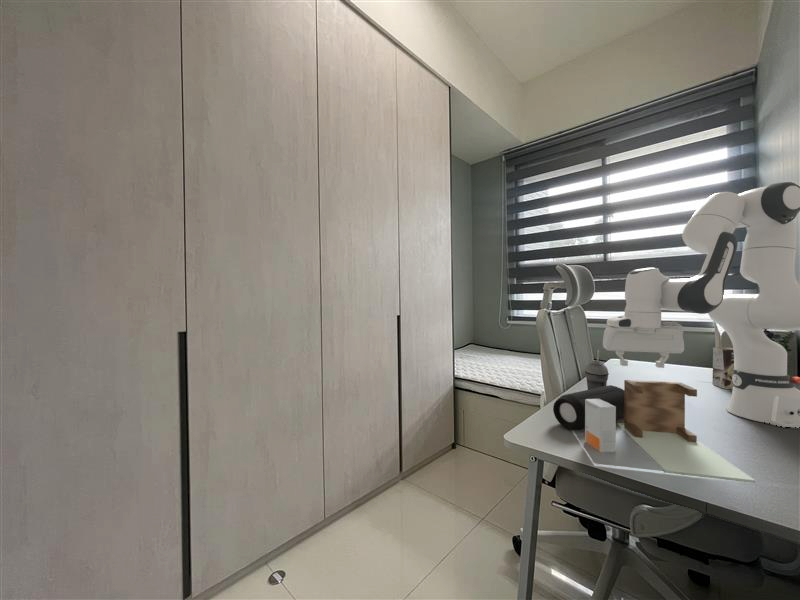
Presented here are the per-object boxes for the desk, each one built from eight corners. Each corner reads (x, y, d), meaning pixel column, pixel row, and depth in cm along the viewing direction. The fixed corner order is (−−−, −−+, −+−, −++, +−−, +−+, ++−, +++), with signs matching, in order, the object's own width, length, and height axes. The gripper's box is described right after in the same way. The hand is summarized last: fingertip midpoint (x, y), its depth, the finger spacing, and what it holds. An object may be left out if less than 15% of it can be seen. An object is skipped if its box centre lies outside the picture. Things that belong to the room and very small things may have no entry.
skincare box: (584, 443, 84) (584, 398, 83) (599, 442, 84) (599, 398, 84) (600, 454, 78) (600, 407, 77) (616, 453, 78) (616, 406, 78)
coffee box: (724, 389, 126) (725, 349, 126) (711, 384, 133) (712, 346, 132) (751, 389, 125) (751, 349, 125) (736, 385, 131) (737, 347, 131)
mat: (679, 429, 91) (679, 428, 91) (755, 482, 66) (755, 480, 66) (616, 424, 95) (616, 423, 95) (665, 472, 70) (665, 470, 70)
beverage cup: (601, 401, 114) (601, 347, 114) (613, 409, 107) (613, 351, 107) (581, 401, 115) (580, 347, 115) (591, 408, 108) (591, 351, 107)
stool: (681, 431, 88) (681, 382, 88) (696, 442, 82) (696, 389, 82) (624, 427, 92) (624, 379, 92) (634, 437, 85) (635, 386, 85)
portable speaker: (580, 437, 88) (580, 401, 87) (550, 423, 97) (550, 391, 96) (634, 420, 98) (634, 388, 98) (603, 409, 107) (603, 380, 107)
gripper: (676, 321, 95) (675, 366, 96) (601, 319, 100) (600, 362, 101) (690, 323, 89) (689, 371, 89) (608, 321, 94) (608, 366, 95)
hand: (641, 366), depth 95 cm, fingers open, 8 cm apart
